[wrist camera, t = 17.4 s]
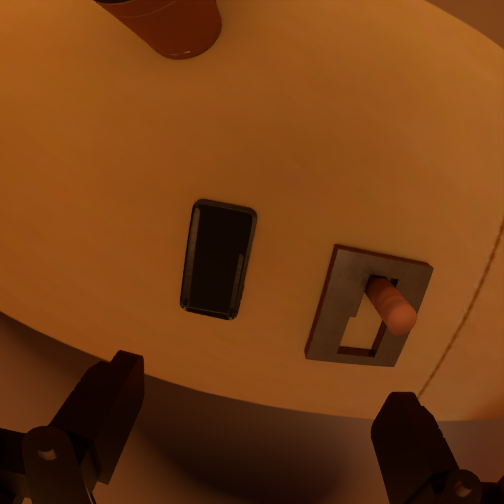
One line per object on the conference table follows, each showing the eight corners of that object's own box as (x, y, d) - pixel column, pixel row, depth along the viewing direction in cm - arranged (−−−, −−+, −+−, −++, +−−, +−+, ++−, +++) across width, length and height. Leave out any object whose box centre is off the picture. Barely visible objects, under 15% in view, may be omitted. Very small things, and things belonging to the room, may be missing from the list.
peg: (367, 270, 39) (394, 304, 30) (390, 274, 39) (421, 308, 30) (359, 294, 40) (383, 333, 31) (382, 298, 40) (409, 336, 31)
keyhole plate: (334, 244, 38) (338, 248, 37) (427, 263, 39) (433, 268, 37) (304, 350, 43) (305, 358, 41) (389, 359, 43) (393, 367, 42)
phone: (178, 309, 41) (193, 198, 37) (180, 305, 42) (195, 197, 38) (236, 321, 41) (259, 211, 37) (237, 317, 43) (259, 209, 38)
